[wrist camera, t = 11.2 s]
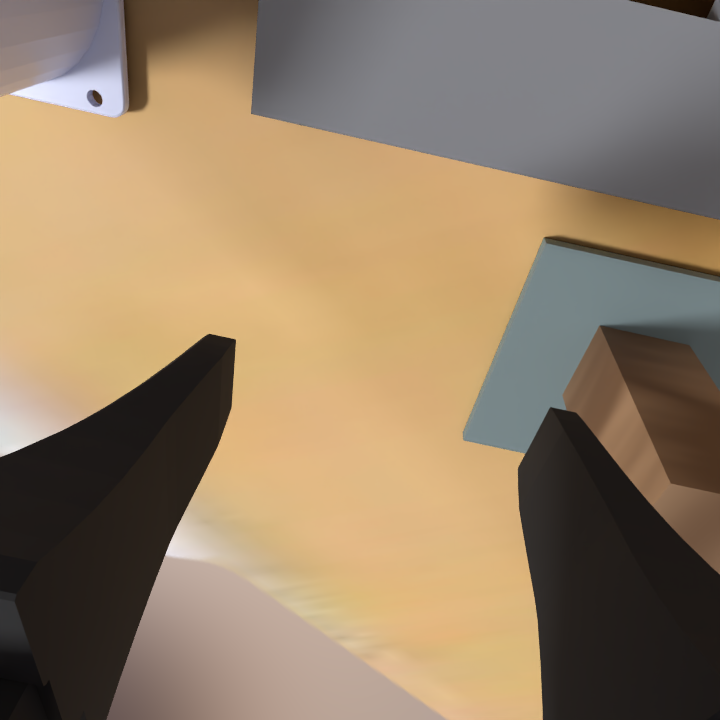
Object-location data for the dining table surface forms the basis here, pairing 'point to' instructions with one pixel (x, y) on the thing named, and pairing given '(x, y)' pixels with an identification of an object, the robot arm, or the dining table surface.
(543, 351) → the mat
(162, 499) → the robot arm
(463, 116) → the grey flat block
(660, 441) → the tall wooden block
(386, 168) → the dining table surface
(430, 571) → the dining table surface
